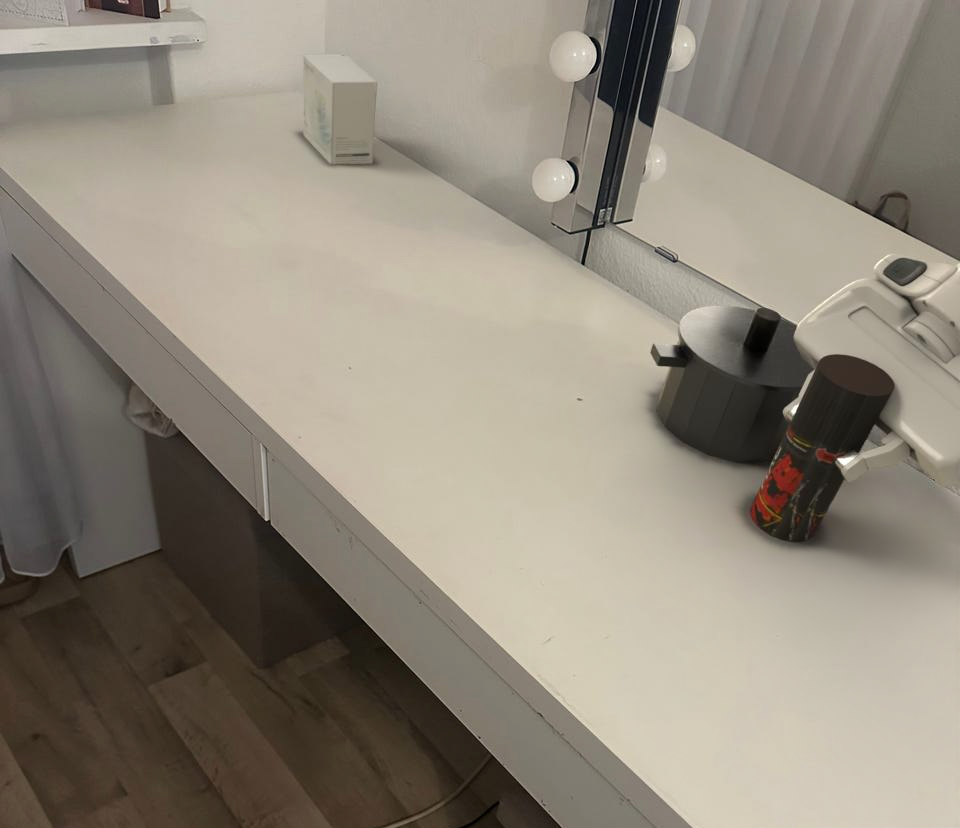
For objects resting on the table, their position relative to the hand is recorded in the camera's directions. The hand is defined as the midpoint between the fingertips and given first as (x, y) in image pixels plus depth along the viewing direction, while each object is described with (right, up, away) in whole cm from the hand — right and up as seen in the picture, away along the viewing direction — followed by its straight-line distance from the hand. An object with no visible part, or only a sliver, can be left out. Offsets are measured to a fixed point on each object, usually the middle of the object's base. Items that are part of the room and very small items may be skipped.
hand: (813, 446), depth 74 cm
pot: (-3, +5, +16) cm, 17 cm away
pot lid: (-2, +11, +10) cm, 15 cm away
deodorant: (-1, -6, +6) cm, 9 cm away
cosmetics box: (-47, +51, +50) cm, 85 cm away
